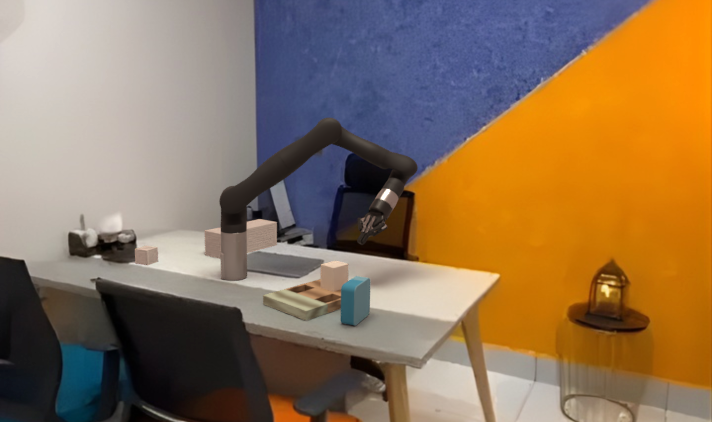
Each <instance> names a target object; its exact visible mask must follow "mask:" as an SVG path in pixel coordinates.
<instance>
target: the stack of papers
mask: <svg viewBox="0 0 712 422" xmlns="http://www.w3.org/2000/svg"><path fill="white" fill-rule="evenodd" d="M277 232H278V221H273V220H267V219H261V218H258V219H253V220H247V254H248V253H252V252H256V251H261V250H264V249H268V248H270V247H271V248H272V247H275V246H277V245H278V242H277V241H278V239H277V238H278V233H277ZM204 255H205V256H207V257H211V258H215V259H219V260H221V226H220V227H215V228H210V229H205V230H204Z"/></svg>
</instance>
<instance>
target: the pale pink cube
mask: <svg viewBox="0 0 712 422" xmlns="http://www.w3.org/2000/svg"><path fill="white" fill-rule="evenodd" d="M134 256H135V257H134V258H135V259H134V261H135V264H136V265H143V266H150V265H153V264H156V263H158V262H159V249H158V246H152V245H151V246H150V245H144V246H140V247H137V248H135V249H134Z"/></svg>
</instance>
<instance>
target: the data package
mask: <svg viewBox="0 0 712 422" xmlns="http://www.w3.org/2000/svg"><path fill="white" fill-rule="evenodd" d="M371 282H372V281H371V278H370V277H367V276H365V277H364V276H359V275H355V276H354V277H353V278H351V279H348V281H347V282H346V283H344V284H343V285H342V288H341V309H340V323H341V324H344V325H349V326H355V327H356V326H357V325H359V323H361V322H362V321H363V320H365V318H366V317H368V316H369V314H370V309H371V307H370V306H371Z"/></svg>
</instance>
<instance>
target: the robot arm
mask: <svg viewBox="0 0 712 422" xmlns="http://www.w3.org/2000/svg"><path fill="white" fill-rule="evenodd" d="M331 145H333V146H337V147H340V148H342V149H344V150H347V151H349V152H351V153H353V154H354V155H356V156H358V157H359V158H360V159H363V160H365V161H366V162H368V163H370V164H372V165H373V166H376V167H379V168H380V169H382V170H387V169H392V170H391V172H390V175H389V176H388V179H387V181H386V182H385V183H384V185H383V186H382V188H381V190H380V191H379V192H378V193H377V195H376V197H375V198H374V200H373V201H372V203H371V204H370V206H369V208H368V212H367V213H366V214H365V216H364V217H362V218H361V217H357V228H358V231H359V232H360V234H359V236H358V238H356V239H357V244H359V245H361V246H364V245H365V244H366V243H367V241H368V240H369V238H370V237H376V236H377V235H379V234H381V233H382V232H384V231H385V230H387V229H388V225H387V224H386V221H387V220H388V218H389V217H390V216H391V213H392V212H393V210H394V208H395V207H396V206H397V203H398V201H399V199H400V197H401V196H402V194H403V192H404V190H405V186H406V184H407V182H408V181H409V179H411V178H412V177H413V176H414V175H415V174H416V173H417V172H418V168H419V167H418V164H417V162H416V160H414V159H413V158H412V157H410V156H408V155H405V154H401V153H398V152H392V151H390V150H389V149H388V148H385V147H383V146H381V145H379V144H377V143H375V142H372V141H370V140H368V139H366V138H363V137H361V136H359V135H356V134H354V133H353V132H351V131H349V130H348V129H346V128H345V127H343V126H342V124H341V122H340V121H339V120H337V119H336V118H333V117H325V118H321V120H319V121H318V122H317V124H316V125H314V127H313V128H312V129H311V130H310V131H309V132H307V133H306V134H305V135H303V136H302V137H301V138H299V139H298V140H295V141H294V142H291V143H290V144H288V145H286V146H284V147H282V148H281V149H280V150H278V151H277V152H275V153H274V154H272V155H271V156H270V157H269V158H267V159H266V160H265V161H264V162H263V163H261V164H260V165H259V166H258V167H257V168H256V169H255V170H254V171H253V173H251V174H250V175H249V176H248V177H247V178H245V179H243V180H242V181H240V182H239V183H237V184H236V185H229V186H227V187H226V188H225V189H223V190H222V192H221V194H220V197H219V201H218V202H219V207H220V227H221V259H220V280H227V281H239V280H243V279H246V278H248V253H247V222H248V216H247V215H248V214H247V213H248V207H247V206H248V205H249V204H250V203H252V202H253V201H254V200H255V199H256V198H257V197H259V196H260V195H262V194H263V193H264V192H266V191H268V190H270V189H271V188H273V187H274V186H276V185H278V184H279V183H281V182H282V181H284V180H285V179H286V178H289V176H291V175H292V174H293V173H294V172H296V171H297V170H298V169H299V168H301V167H302V166H303V165H305V164H306V162H308V161H309V160H310V159H311V158H312V157H313V156H314V155H316V154H317V153H319V152H320V151H322V150H324V149H325V148H327V147H329V146H331Z"/></svg>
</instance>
